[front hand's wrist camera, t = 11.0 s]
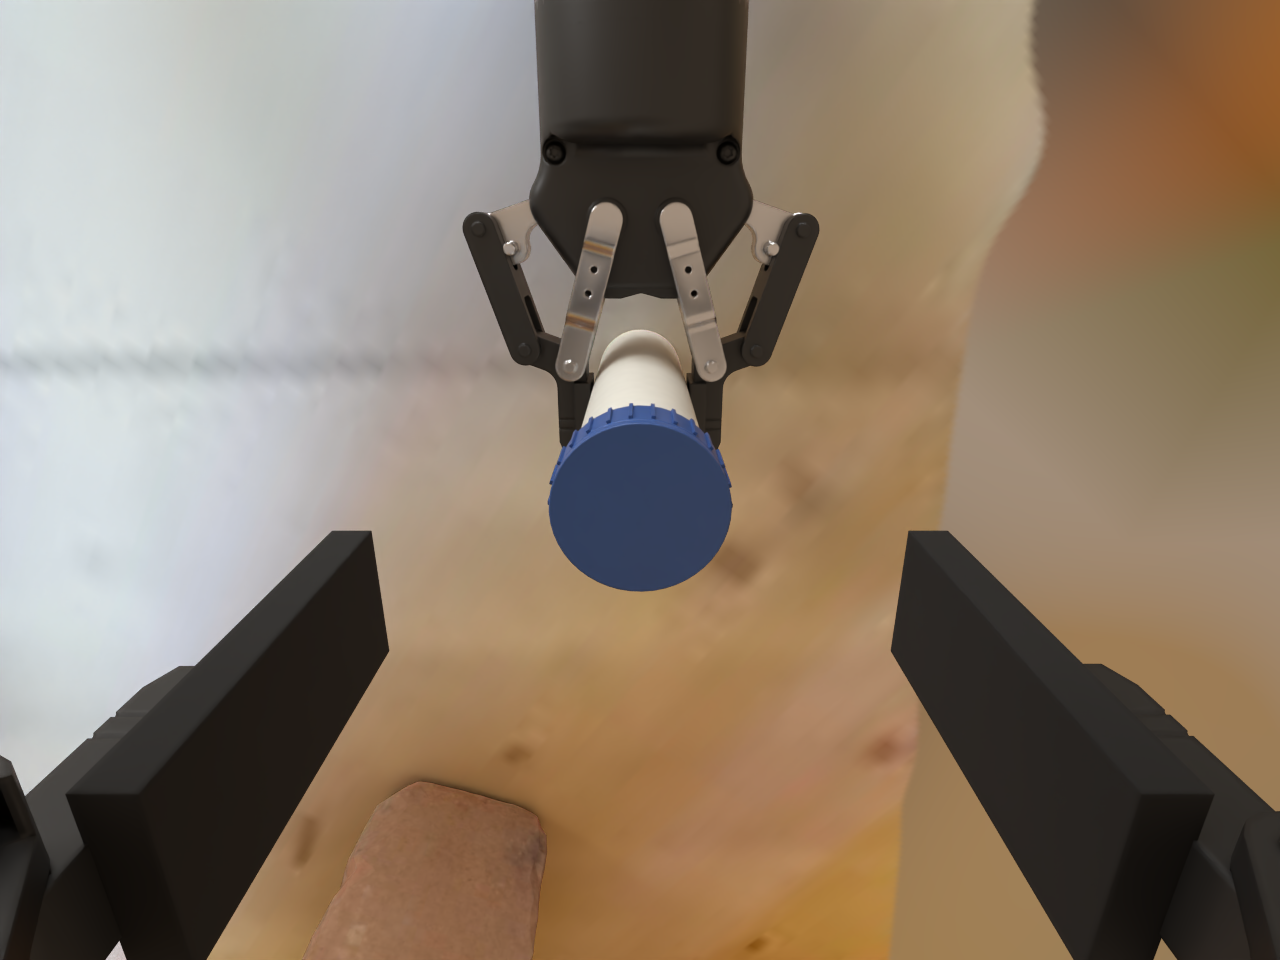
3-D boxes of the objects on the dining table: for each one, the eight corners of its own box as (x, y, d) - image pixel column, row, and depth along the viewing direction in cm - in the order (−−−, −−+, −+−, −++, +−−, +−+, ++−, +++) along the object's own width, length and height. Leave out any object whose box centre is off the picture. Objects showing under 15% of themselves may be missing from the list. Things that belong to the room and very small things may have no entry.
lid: (603, 369, 18) (599, 384, 16) (759, 453, 19) (771, 476, 17) (525, 516, 20) (514, 544, 18) (672, 589, 20) (675, 622, 19)
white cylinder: (623, 314, 34) (607, 401, 17) (694, 354, 35) (747, 476, 18) (586, 385, 35) (535, 533, 18) (655, 422, 36) (669, 597, 19)
